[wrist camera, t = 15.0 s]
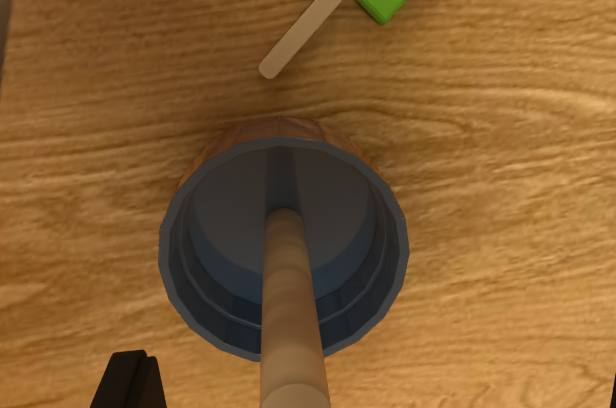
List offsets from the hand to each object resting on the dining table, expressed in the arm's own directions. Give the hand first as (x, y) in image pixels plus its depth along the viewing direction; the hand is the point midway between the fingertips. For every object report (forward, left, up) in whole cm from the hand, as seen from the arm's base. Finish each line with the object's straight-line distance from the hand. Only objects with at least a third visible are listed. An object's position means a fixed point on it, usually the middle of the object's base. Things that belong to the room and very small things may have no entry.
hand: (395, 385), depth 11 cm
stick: (0, -5, -12) cm, 13 cm away
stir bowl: (0, -5, -20) cm, 21 cm away
